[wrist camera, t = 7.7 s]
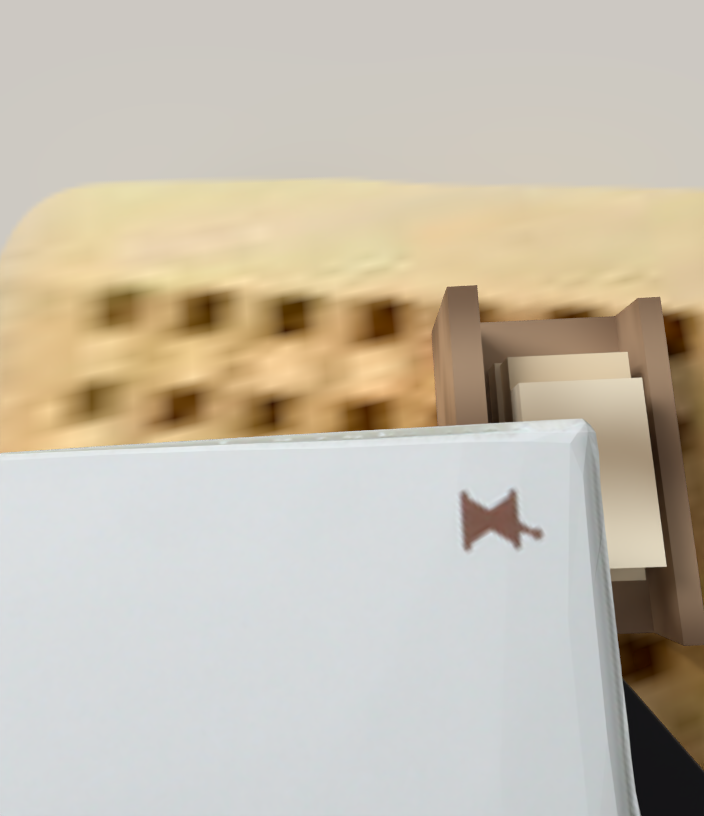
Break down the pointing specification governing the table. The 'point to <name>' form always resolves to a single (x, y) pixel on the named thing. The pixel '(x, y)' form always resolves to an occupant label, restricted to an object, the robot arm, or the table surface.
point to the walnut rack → (648, 359)
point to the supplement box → (312, 627)
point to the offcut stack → (616, 437)
